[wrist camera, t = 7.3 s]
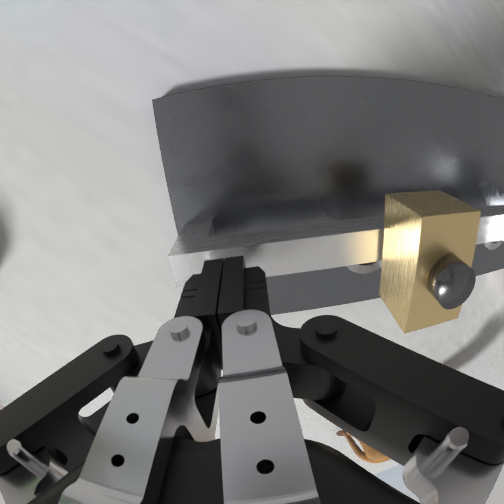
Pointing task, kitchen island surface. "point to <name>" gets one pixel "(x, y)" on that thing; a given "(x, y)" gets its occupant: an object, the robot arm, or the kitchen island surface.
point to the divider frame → (300, 245)
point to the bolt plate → (327, 163)
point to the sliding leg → (427, 257)
